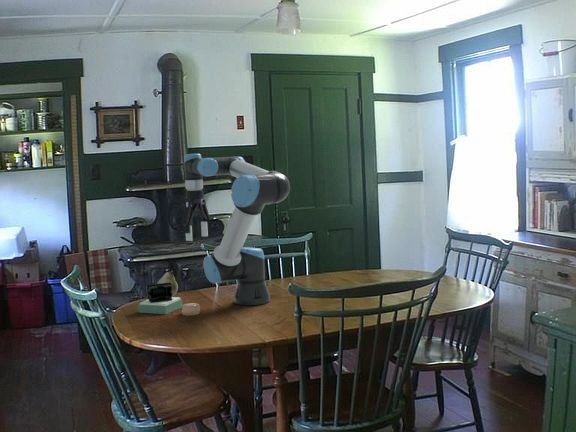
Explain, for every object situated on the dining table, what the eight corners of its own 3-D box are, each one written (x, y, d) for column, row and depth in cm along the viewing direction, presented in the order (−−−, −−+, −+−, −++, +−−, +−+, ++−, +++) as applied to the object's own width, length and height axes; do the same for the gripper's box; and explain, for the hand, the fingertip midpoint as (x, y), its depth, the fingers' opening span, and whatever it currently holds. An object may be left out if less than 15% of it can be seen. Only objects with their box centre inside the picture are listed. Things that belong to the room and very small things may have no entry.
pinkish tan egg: (202, 312, 280) (202, 303, 280) (194, 316, 273) (193, 307, 273) (187, 311, 283) (187, 302, 282) (178, 315, 276) (178, 306, 276)
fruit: (182, 296, 310) (181, 270, 308) (165, 300, 303) (163, 273, 302) (169, 294, 317) (167, 268, 316) (151, 298, 310) (150, 271, 309)
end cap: (170, 297, 291) (169, 281, 291) (173, 300, 285) (172, 284, 284) (146, 299, 288) (145, 283, 287) (149, 303, 281) (148, 286, 281)
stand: (182, 306, 290) (182, 297, 290) (165, 314, 278) (165, 304, 278) (156, 305, 295) (155, 295, 295) (138, 312, 283) (137, 302, 283)
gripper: (201, 187, 311) (203, 234, 314) (171, 192, 288) (174, 242, 291) (215, 187, 309) (218, 234, 311) (187, 191, 286) (190, 242, 288)
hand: (197, 238), depth 301 cm, fingers open, 13 cm apart
